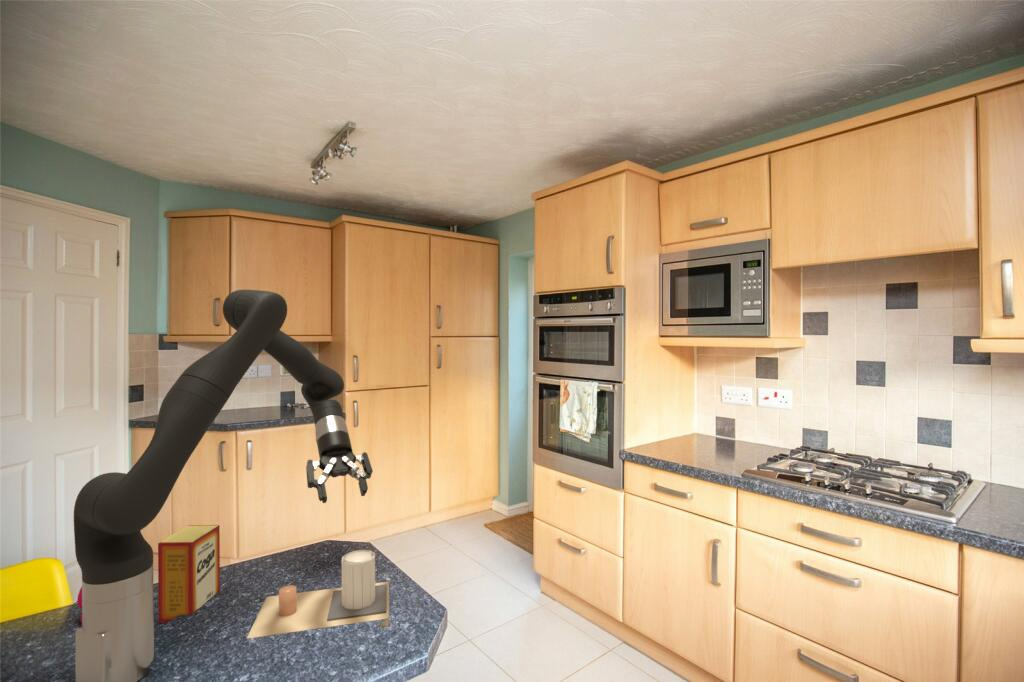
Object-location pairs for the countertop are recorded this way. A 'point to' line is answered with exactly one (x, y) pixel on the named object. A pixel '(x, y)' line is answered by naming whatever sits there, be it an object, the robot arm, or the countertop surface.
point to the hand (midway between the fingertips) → (344, 497)
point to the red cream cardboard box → (188, 570)
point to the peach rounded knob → (287, 600)
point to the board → (319, 612)
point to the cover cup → (358, 579)
